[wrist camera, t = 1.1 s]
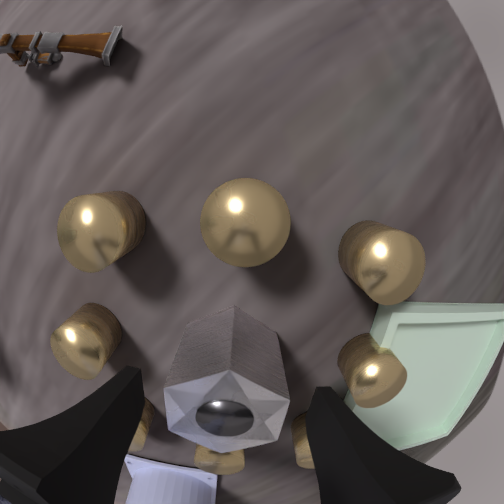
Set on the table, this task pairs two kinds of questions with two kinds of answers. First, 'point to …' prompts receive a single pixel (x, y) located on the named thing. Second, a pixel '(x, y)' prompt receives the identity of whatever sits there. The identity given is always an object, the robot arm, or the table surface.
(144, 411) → the set of brass balls
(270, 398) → the steel nut
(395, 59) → the table surface
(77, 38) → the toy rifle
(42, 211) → the table surface
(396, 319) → the tray
